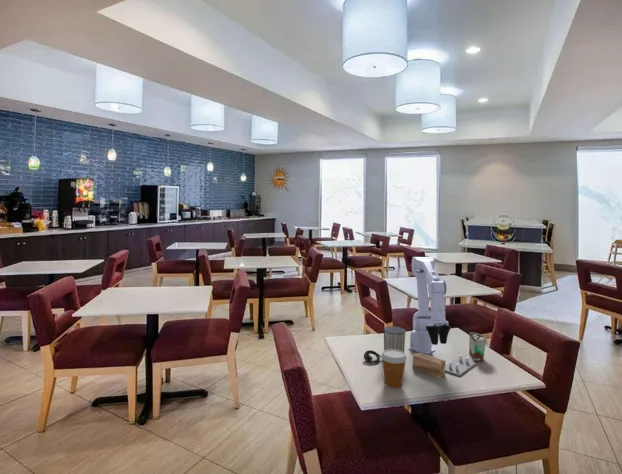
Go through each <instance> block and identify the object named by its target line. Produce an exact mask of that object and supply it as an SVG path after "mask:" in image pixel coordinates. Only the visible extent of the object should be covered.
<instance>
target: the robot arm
mask: <svg viewBox="0 0 622 474" xmlns="http://www.w3.org/2000/svg"><path fill="white" fill-rule="evenodd" d="M435 265H436V261H435V258H434V257H433V256H429V257H428V256H413V257H412V259H411V273H412V275H413V276H415V277H416V287H417V303H418V306H417V307H418V311H416V312H415V313H414V314H413V315H412V329H413V330H411V333H410V337H409V338H410V339H409V348H408V349H409V350H411V351H414V352H416V353H418V352H419V353H422V354H426V355H428V354H431V353H433V352H434V351H436V349H435V348H432V346H433V345H435V346H438V344H439V343H440V344H442V345H446V344H447V340H448V336H449V333H450V331H451V328H452V327H451V325H449V321H448V320H447V319H446V299H445V298H446V297H445V296H446V294H447V283H446V280H443V279H442V278H441V277H440V275H439V273H438V272H437V271H435ZM429 300H430V301H429ZM429 302H430V306H429Z"/></svg>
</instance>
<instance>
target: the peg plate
mask: <svg viewBox="0 0 622 474" xmlns="http://www.w3.org/2000/svg"><path fill="white" fill-rule="evenodd" d="M477 363H478V362H473V360H470V358H469V356H465V358H463V355H461V354H460V355H459V357H457V358H455V359H454V360H452V361H449V362H448V363H447V364H445V374H451V375H453V376H456V377H458V378H459V377H461V376H463V375H464V374H466V373H467V372H468V371H469V370H471V369H472V368H474V367H475V366H476V365H477Z"/></svg>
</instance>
